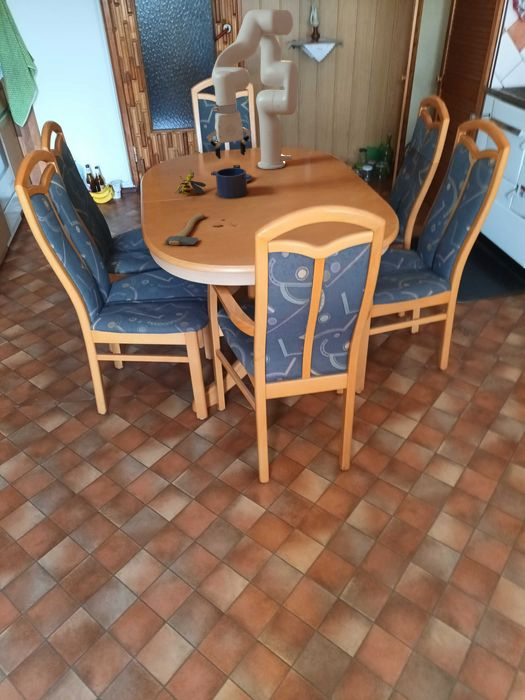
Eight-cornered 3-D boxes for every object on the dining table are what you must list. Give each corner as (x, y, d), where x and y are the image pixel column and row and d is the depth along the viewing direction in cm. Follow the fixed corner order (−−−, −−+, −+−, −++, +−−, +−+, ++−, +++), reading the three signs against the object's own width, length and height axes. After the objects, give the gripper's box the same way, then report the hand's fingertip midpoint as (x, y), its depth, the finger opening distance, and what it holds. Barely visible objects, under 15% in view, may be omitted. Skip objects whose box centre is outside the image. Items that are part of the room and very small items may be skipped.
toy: (162, 181, 205) (180, 167, 216) (166, 202, 210) (184, 187, 221) (189, 184, 201) (206, 169, 212) (192, 204, 207) (209, 189, 217)
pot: (221, 186, 220) (219, 166, 215) (258, 191, 214) (257, 170, 209) (206, 195, 212) (204, 174, 207) (244, 200, 205) (242, 178, 200)
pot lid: (232, 174, 234) (230, 160, 230) (257, 177, 229) (257, 163, 225) (217, 183, 225) (215, 168, 221) (243, 186, 220) (242, 171, 216)
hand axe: (193, 242, 170) (164, 240, 172) (194, 247, 170) (165, 245, 173) (217, 212, 191) (191, 211, 193) (218, 217, 192) (191, 216, 194)
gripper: (206, 113, 191) (211, 162, 201) (252, 107, 195) (254, 155, 205) (201, 109, 197) (207, 156, 207) (246, 104, 201) (249, 150, 211)
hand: (230, 156), depth 206 cm, fingers open, 9 cm apart
